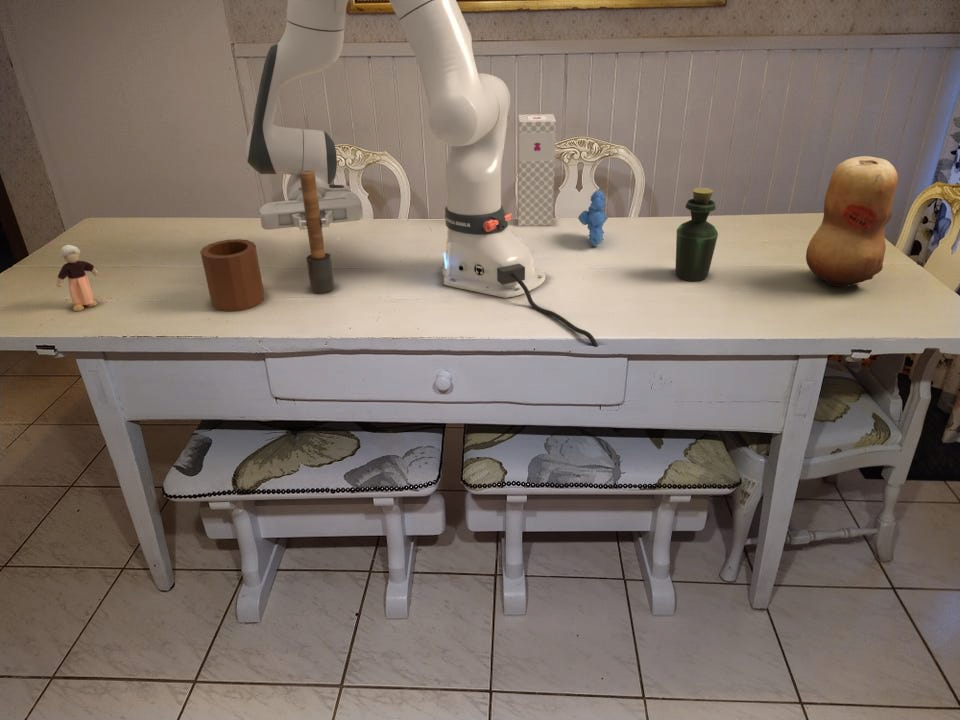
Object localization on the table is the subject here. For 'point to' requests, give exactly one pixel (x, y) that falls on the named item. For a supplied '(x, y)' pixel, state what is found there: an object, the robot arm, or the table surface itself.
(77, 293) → the grandmother figurine
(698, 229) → the potion bottle
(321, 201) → the robot arm
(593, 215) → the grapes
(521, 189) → the box
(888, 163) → the butternut squash
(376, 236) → the table surface
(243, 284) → the cylindrical container
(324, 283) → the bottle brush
